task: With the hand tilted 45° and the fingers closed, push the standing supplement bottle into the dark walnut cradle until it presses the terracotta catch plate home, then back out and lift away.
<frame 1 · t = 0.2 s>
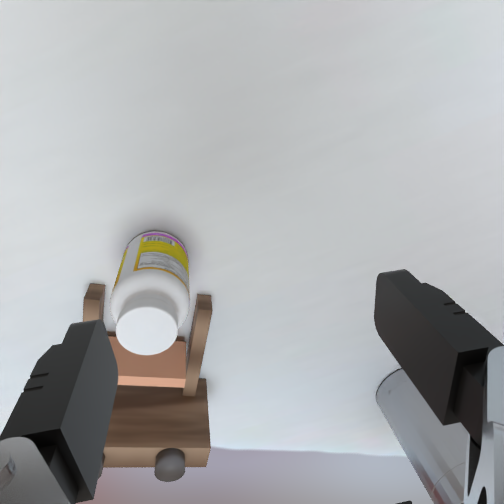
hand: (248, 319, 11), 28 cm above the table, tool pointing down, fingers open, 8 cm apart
cradle: (147, 333, 45), on the table
supplement bottle: (157, 256, 41), on the table
catch plate: (143, 360, 41), point 4 cm above the table, slide at 0.0 cm
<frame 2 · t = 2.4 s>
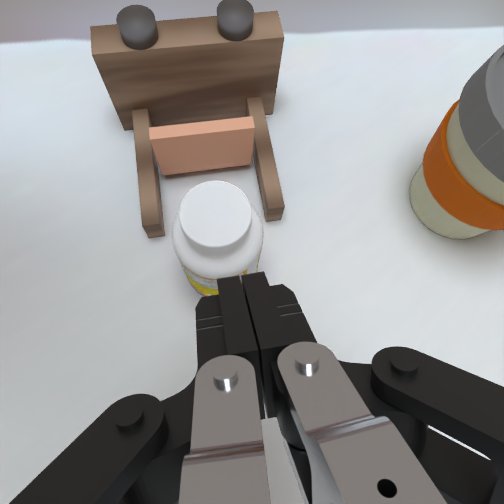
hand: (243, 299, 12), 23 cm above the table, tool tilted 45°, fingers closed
reusable coffee cup: (450, 199, 40), on the table
cradle: (207, 174, 39), on the table
supplement bottle: (221, 268, 37), on the table
catch plate: (204, 147, 36), point 4 cm above the table, slide at 0.0 cm
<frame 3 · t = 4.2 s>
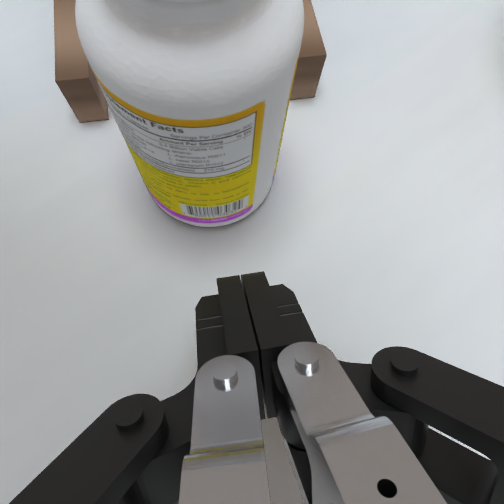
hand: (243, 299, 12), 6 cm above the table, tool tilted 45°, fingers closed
cradle: (187, 26, 23), on the table
supplement bottle: (209, 175, 20), on the table
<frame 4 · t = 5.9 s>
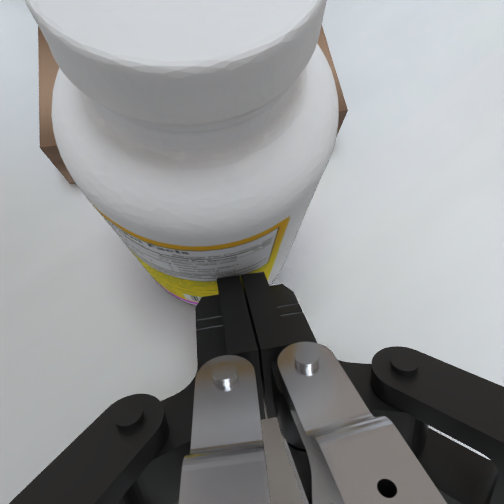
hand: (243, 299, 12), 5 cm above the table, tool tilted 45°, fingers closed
cradle: (189, 69, 21), on the table
supplement bottle: (215, 241, 18), on the table, touching gripper
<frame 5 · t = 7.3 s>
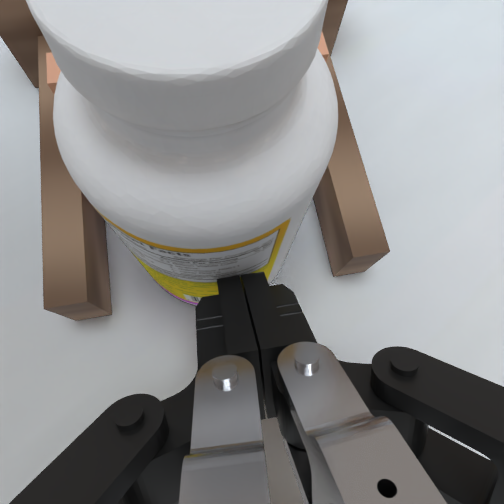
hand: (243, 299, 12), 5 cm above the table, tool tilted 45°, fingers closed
cradle: (206, 176, 19), on the table
supplement bottle: (215, 241, 18), on the table, touching gripper
catch plate: (198, 113, 15), point 4 cm above the table, slide at 0.0 cm
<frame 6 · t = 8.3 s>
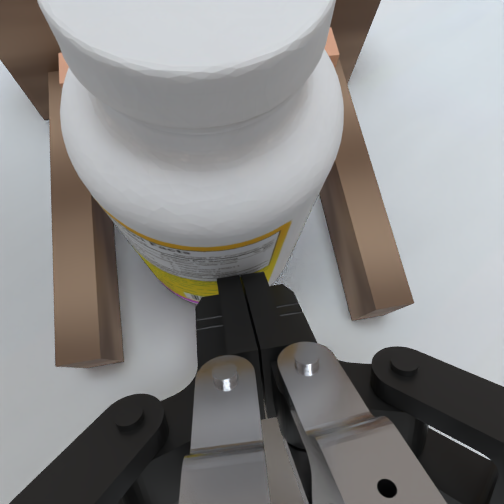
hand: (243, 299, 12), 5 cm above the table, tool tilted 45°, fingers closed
cradle: (220, 214, 18), on the table
supplement bottle: (218, 241, 18), on the table, touching catch plate, gripper
catch plate: (207, 113, 15), point 4 cm above the table, slide at 2.0 cm, touching supplement bottle
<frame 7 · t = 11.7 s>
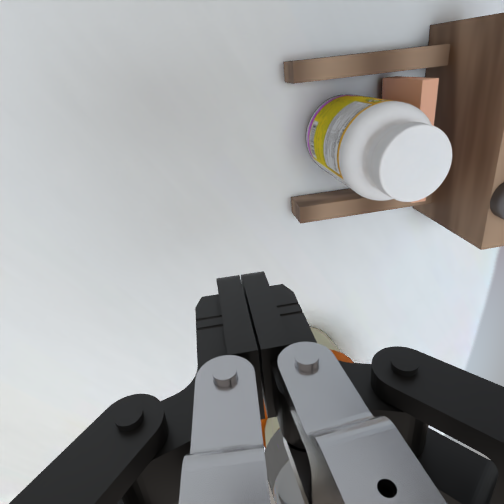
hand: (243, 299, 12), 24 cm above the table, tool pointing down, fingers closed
reusable coffee cup: (296, 356, 45), on the table
cradle: (352, 134, 35), on the table
supplement bottle: (338, 132, 34), on the table
catch plate: (403, 138, 31), point 4 cm above the table, slide at 2.1 cm
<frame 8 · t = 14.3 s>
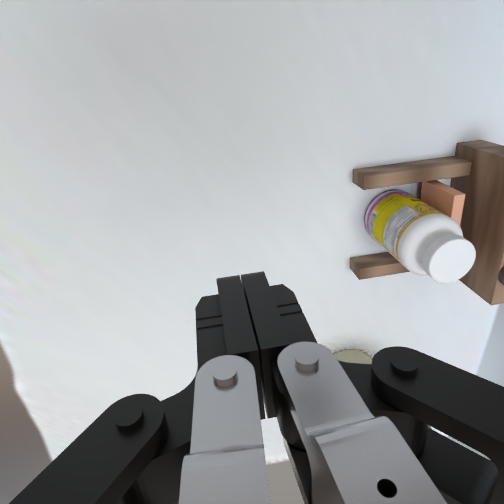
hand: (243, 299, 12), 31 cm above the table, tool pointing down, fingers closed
reusable coffee cup: (343, 371, 58), on the table
cradle: (398, 215, 47), on the table
supplement bottle: (387, 213, 47), on the table
catch plate: (437, 224, 44), point 4 cm above the table, slide at 2.1 cm
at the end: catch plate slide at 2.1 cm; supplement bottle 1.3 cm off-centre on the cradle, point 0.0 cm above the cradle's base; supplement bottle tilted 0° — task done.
